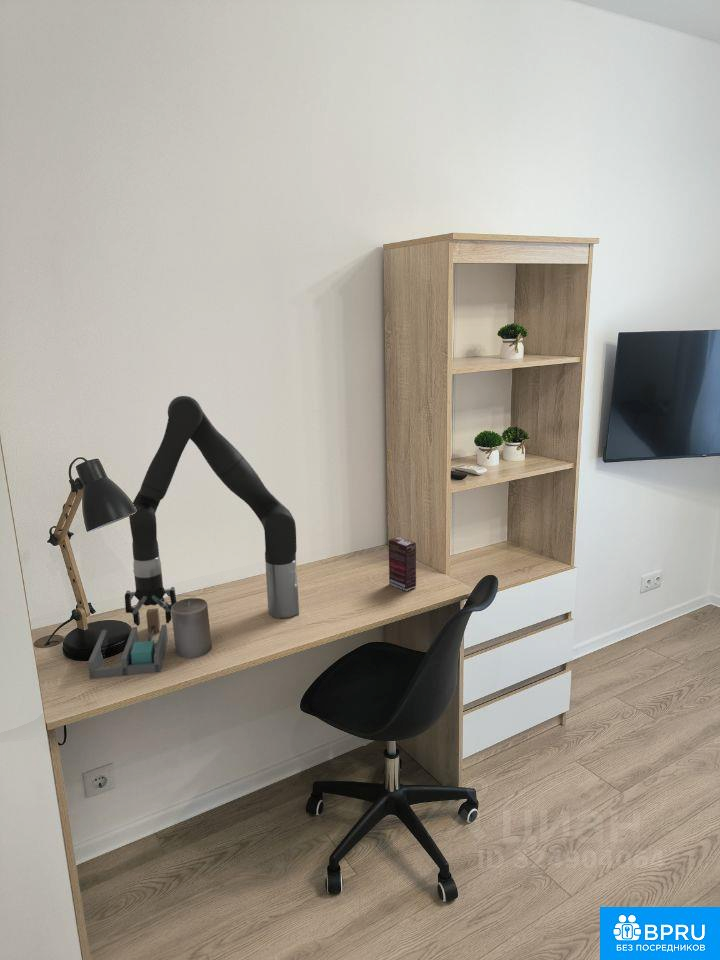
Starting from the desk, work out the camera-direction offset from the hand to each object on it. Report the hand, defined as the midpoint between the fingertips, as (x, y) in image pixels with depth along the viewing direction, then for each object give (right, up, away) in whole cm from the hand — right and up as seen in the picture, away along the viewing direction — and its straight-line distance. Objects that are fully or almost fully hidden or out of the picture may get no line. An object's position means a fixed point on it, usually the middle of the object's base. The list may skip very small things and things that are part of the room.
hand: (153, 623), depth 203 cm
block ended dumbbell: (+2, -5, -10) cm, 11 cm away
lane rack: (-1, -7, -15) cm, 17 cm away
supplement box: (+75, +6, +28) cm, 80 cm away
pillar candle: (+15, -5, -11) cm, 19 cm away
